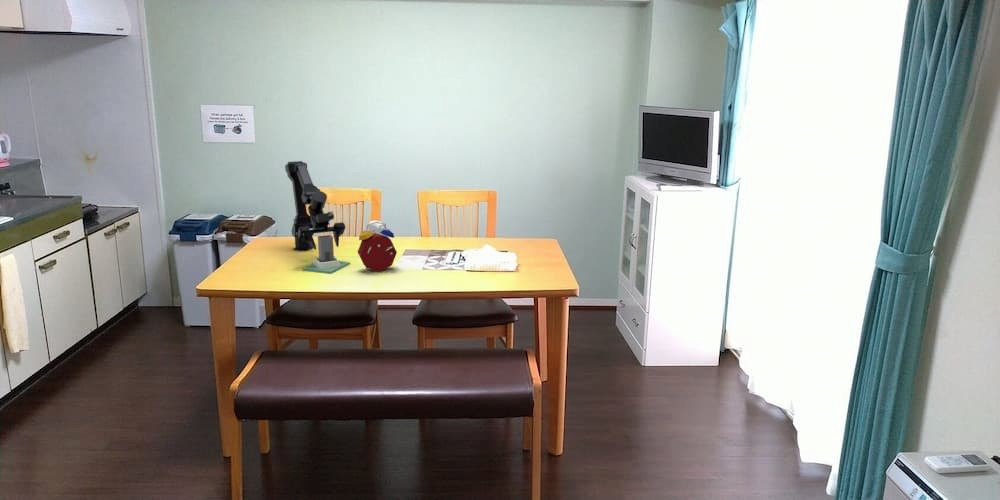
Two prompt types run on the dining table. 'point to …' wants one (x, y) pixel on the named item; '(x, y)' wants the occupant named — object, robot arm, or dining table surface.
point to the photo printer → (376, 227)
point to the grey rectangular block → (325, 248)
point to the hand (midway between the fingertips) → (326, 247)
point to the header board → (314, 269)
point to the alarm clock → (377, 249)
